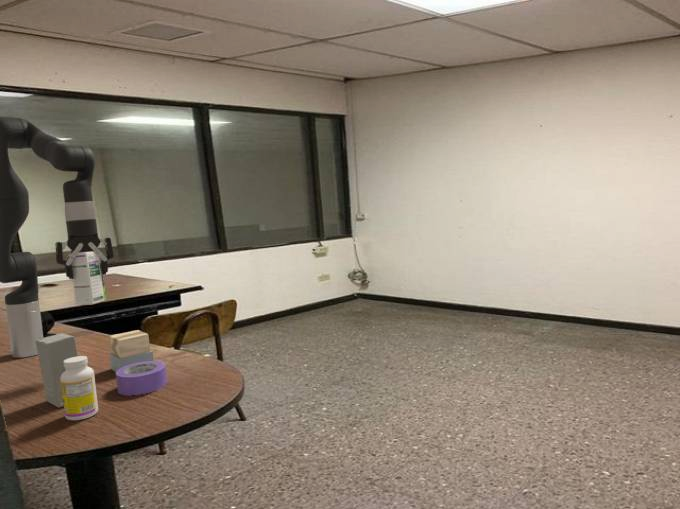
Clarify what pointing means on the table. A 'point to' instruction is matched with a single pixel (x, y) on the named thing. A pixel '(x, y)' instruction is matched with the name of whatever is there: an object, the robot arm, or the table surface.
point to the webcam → (47, 324)
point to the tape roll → (141, 378)
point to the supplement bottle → (78, 389)
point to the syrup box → (88, 278)
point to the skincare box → (54, 363)
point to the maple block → (129, 343)
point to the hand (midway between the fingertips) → (87, 276)
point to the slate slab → (129, 360)
